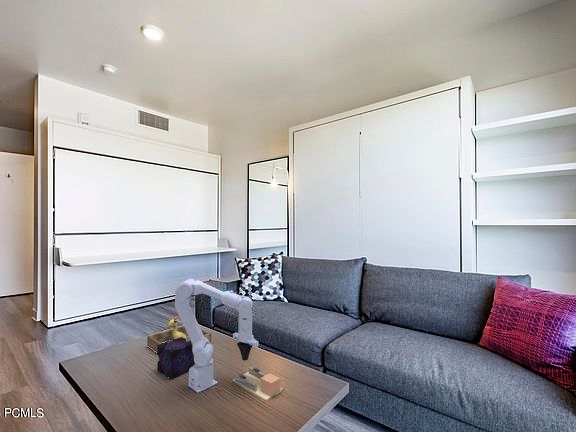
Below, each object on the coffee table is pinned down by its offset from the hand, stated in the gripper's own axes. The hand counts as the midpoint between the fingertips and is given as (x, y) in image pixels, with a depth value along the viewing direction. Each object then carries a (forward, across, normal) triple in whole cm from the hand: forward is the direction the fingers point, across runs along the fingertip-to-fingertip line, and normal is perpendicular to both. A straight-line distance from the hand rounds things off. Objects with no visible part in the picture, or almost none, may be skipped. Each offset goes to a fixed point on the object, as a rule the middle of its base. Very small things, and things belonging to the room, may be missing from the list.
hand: (245, 359), depth 125 cm
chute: (+10, -5, -2) cm, 11 cm away
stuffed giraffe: (+10, +56, 0) cm, 57 cm away
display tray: (+10, +56, 0) cm, 57 cm away
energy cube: (+10, +32, +14) cm, 37 cm away
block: (+10, -13, -2) cm, 16 cm away
